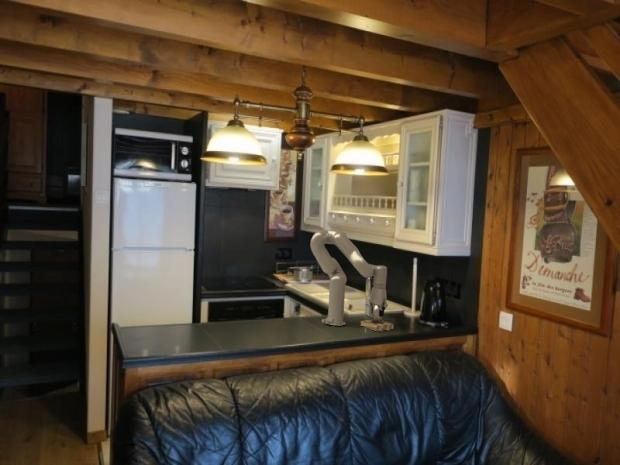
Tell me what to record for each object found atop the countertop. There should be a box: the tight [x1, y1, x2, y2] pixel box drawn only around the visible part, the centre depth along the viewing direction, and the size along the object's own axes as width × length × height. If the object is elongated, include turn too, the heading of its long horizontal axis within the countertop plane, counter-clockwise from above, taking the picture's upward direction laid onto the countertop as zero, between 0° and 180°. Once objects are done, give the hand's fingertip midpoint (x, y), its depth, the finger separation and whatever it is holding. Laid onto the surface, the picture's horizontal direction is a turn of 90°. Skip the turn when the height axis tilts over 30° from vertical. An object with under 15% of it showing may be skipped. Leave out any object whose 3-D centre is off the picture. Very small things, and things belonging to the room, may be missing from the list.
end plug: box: [371, 302, 383, 322], centre depth 300 cm, size 7×7×12 cm
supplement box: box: [364, 296, 373, 317], centre depth 333 cm, size 7×7×13 cm
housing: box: [360, 319, 394, 332], centre depth 300 cm, size 14×14×4 cm
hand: (377, 314), depth 300 cm, fingers closed on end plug, 6 cm apart
